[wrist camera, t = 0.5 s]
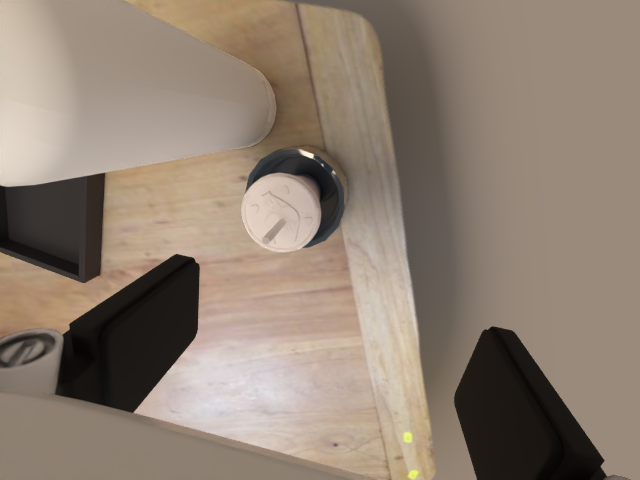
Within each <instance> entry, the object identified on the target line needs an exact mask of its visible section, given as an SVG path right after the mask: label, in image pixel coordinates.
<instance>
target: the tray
mask: <svg viewBox="0 0 640 480" xmlns="http://www.w3.org/2000/svg"><path fill="white" fill-rule="evenodd" d="M104 175H105V173H100V174H94V175H88V176H83V177H77V178H71V179H66V180H60V181H55V182H49V183H43V184H38V185H27V186H13V187H6V186H1V185H0V252H1V253H4V254H6V255H9V256H12V257H15V258H17V259H20V260H23V261H25V262H28V263H31V264H33V265H36V266H39V267H42V268H44V269H47V270H50V271H52V272H55V273H58V274H60V275H63V276H66V277H69V278H71V279H74V280H77V281H79V282H82V283H86V282H87V281H89V280H91V279H93V278H95V277H96V276H99V275H100V261H101V239H102V218H103V196H104Z"/></svg>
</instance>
